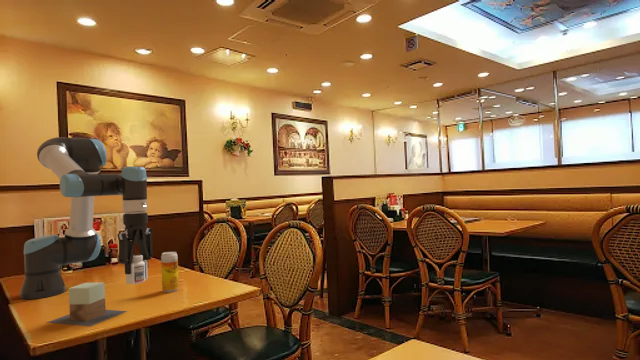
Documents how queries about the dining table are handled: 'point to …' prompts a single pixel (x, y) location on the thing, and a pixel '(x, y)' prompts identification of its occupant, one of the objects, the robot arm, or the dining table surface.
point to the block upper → (86, 293)
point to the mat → (91, 322)
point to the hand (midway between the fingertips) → (137, 281)
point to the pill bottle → (138, 268)
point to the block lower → (87, 310)
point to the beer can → (169, 271)
